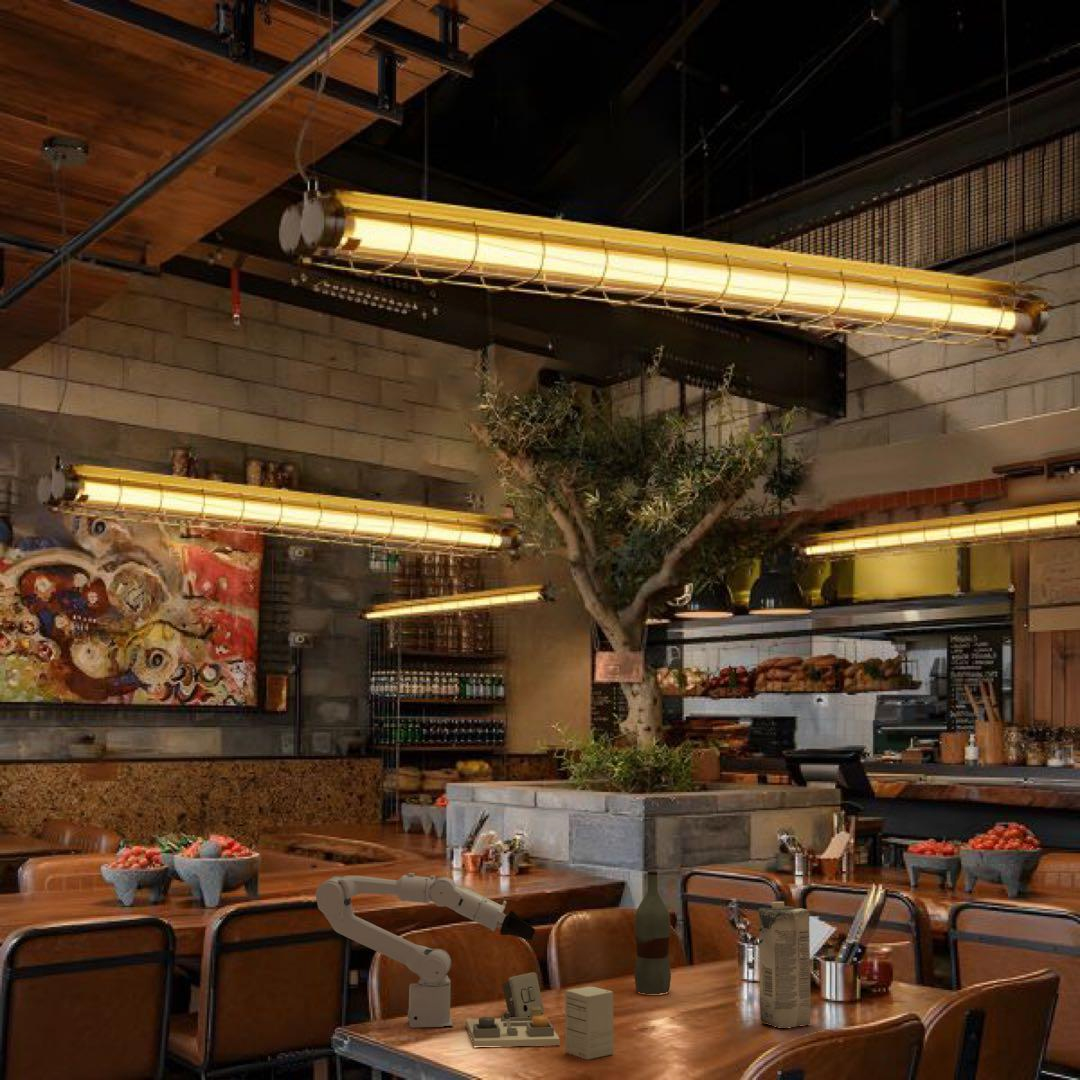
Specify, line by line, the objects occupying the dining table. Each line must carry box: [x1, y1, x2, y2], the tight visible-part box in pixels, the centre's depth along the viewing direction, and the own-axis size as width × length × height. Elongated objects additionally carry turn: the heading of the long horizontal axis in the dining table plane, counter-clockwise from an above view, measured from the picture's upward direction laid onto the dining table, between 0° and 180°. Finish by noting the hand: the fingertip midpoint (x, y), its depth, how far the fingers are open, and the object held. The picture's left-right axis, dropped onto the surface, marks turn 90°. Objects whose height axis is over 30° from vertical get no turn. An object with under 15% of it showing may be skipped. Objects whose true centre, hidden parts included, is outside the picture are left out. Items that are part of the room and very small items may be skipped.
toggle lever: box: [502, 1011, 512, 1030], centre depth 287 cm, size 2×2×4 cm
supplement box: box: [564, 985, 615, 1061], centre depth 278 cm, size 7×7×13 cm
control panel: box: [465, 1016, 561, 1047], centre depth 292 cm, size 18×20×3 cm
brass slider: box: [529, 1007, 542, 1022], centre depth 298 cm, size 2×3×3 cm, turn 8°
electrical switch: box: [502, 971, 545, 1017], centre depth 313 cm, size 9×5×9 cm, turn 141°
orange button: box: [532, 1015, 549, 1027], centre depth 288 cm, size 3×3×2 cm
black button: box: [478, 1016, 496, 1028], centre depth 286 cm, size 3×3×2 cm
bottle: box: [634, 869, 672, 994], centre depth 340 cm, size 9×9×30 cm
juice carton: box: [758, 901, 812, 1028], centre depth 306 cm, size 9×10×27 cm
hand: (533, 935), depth 303 cm, fingers open, 7 cm apart
